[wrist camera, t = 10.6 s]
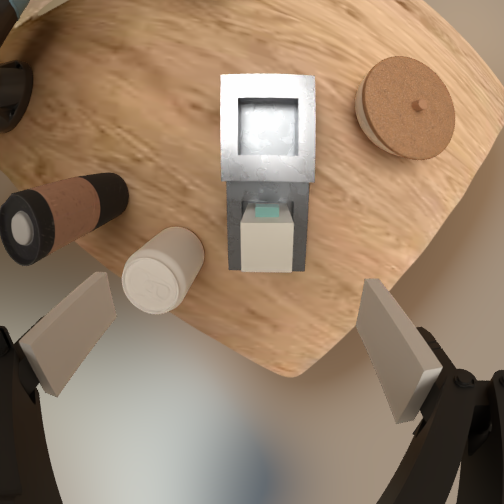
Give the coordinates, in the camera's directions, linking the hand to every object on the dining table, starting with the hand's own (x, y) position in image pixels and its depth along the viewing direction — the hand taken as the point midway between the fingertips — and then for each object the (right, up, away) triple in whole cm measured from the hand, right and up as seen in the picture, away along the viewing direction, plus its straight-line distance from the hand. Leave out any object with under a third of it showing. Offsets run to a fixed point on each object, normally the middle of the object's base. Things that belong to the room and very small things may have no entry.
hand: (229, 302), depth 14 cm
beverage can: (-10, +3, +28) cm, 30 cm away
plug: (+3, +6, +24) cm, 25 cm away
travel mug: (-21, +11, +26) cm, 35 cm away
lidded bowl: (+20, +22, +20) cm, 35 cm away
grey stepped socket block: (+3, +13, +24) cm, 27 cm away
